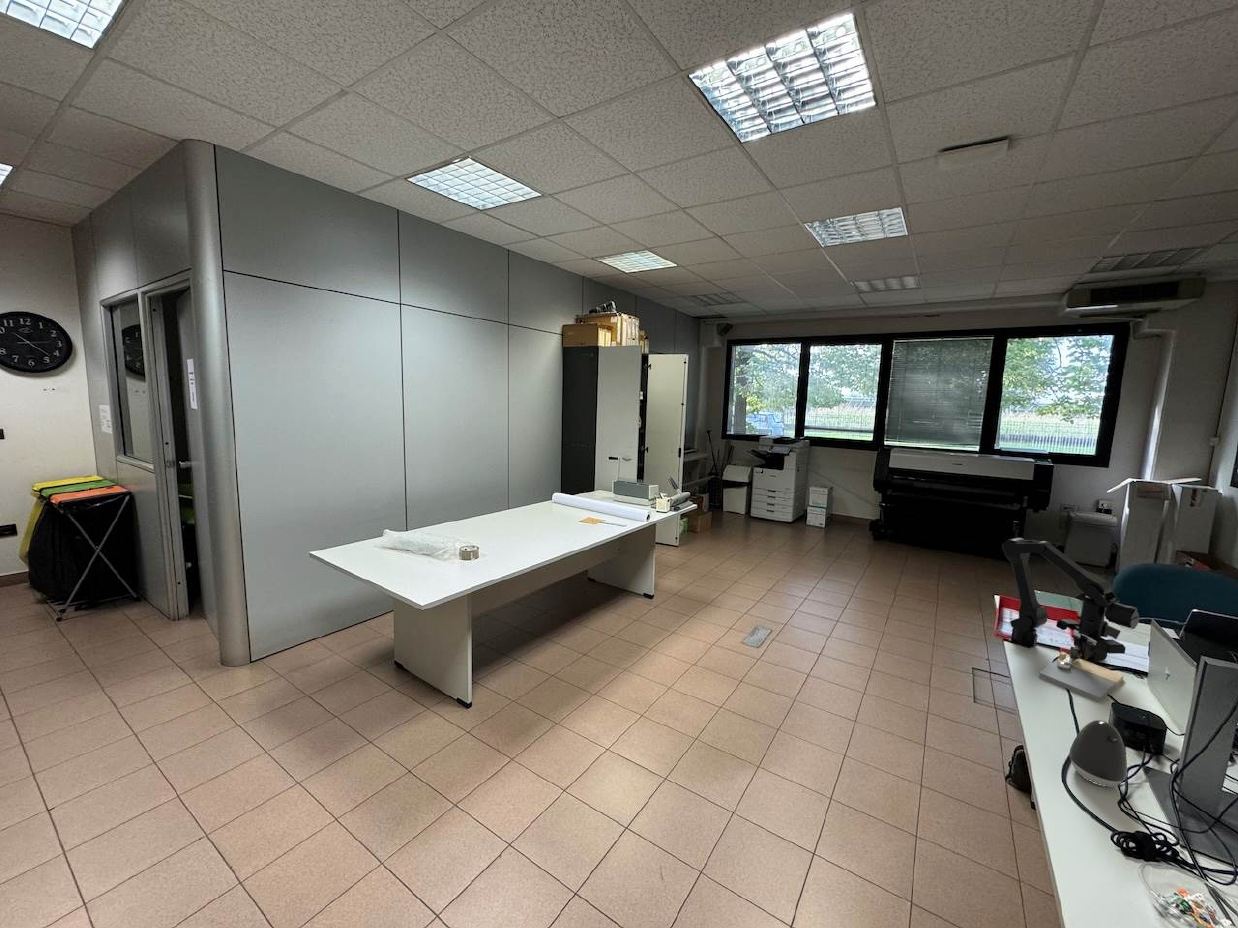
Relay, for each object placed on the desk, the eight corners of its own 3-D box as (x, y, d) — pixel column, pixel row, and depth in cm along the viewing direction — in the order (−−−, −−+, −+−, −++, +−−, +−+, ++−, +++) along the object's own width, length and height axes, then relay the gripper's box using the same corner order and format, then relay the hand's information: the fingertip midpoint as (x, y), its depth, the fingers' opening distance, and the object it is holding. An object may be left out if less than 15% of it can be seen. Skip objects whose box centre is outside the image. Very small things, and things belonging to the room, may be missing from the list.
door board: (1038, 676, 163) (1040, 666, 163) (1064, 657, 175) (1066, 648, 174) (1099, 702, 151) (1101, 691, 150) (1122, 679, 162) (1125, 669, 161)
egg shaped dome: (1079, 788, 119) (1090, 732, 116) (1058, 757, 129) (1068, 705, 126) (1134, 800, 116) (1146, 743, 113) (1108, 767, 125) (1119, 714, 123)
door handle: (1067, 670, 163) (1069, 659, 163) (1054, 665, 166) (1056, 654, 165) (1081, 660, 169) (1083, 649, 168) (1069, 656, 172) (1071, 645, 171)
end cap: (1105, 665, 170) (1109, 647, 169) (1077, 659, 174) (1081, 641, 173) (1098, 652, 178) (1102, 635, 177) (1072, 646, 182) (1075, 629, 181)
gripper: (1146, 629, 156) (1137, 674, 158) (1089, 603, 174) (1082, 645, 176) (1111, 629, 155) (1103, 674, 158) (1058, 603, 174) (1051, 645, 176)
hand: (1085, 659), depth 167 cm, fingers closed
